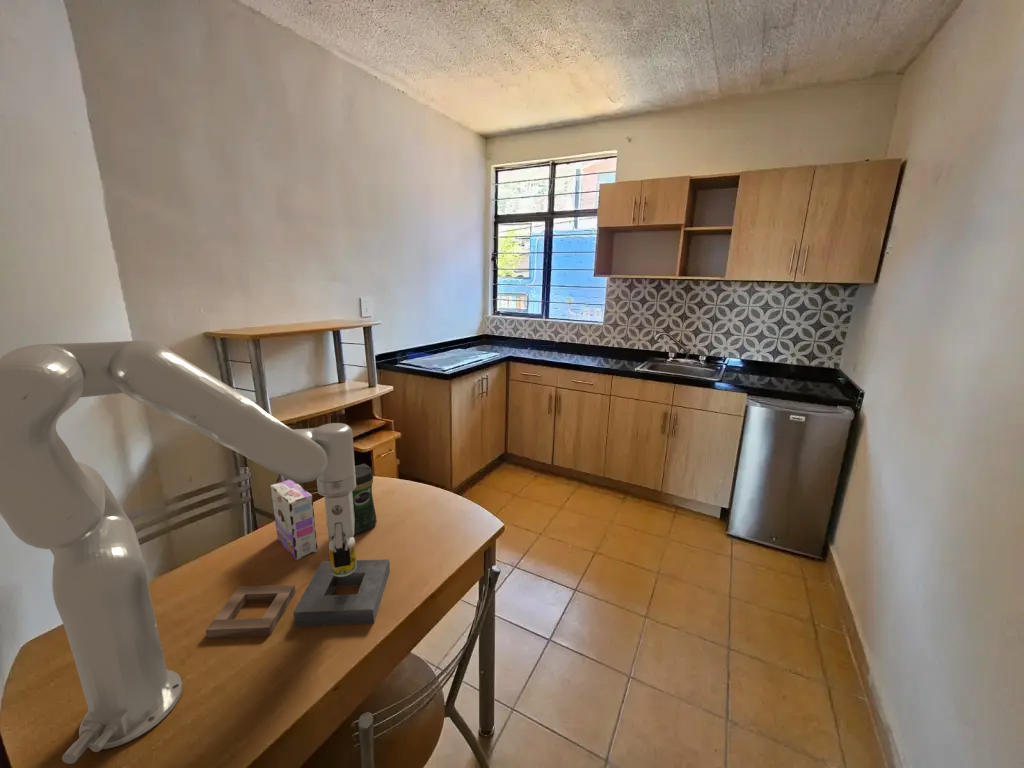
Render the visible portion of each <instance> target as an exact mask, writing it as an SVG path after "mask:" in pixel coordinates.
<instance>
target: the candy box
mask: <svg viewBox="0 0 1024 768" xmlns="http://www.w3.org/2000/svg"><path fill="white" fill-rule="evenodd" d="M270 493H271V494H270V495H271V501H272V502H271V503H272V509H273V515H274V516H273V517H274V523H275V529H276V537H277V540H278V542H280V544H281V545H282V546H283V547H284V549H286V551H287V552H288V553H289V554H290V555H291V557H293V559H294V560H295V561H298V560H300V559H302V558H305V557H307V556H310V555H312V554H314V553H317V552H318V551H319V550H318V541H317V540H318V539H317V532H316V521H315V519H316V518H315V509H314V501H313V500H314V498H313V495H312V493H310V492H308V491H307V490H306V488H305V489H304V487H302V486H301V485H300V484H299V483H298V482H294V481H292V480H289V479H287V480H284V481H281V482H277V483H274V484H271V485H270Z"/></svg>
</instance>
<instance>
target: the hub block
mask: <svg viewBox="0 0 1024 768" xmlns="http://www.w3.org/2000/svg"><path fill="white" fill-rule="evenodd" d="M356 560H357V559H356ZM390 566H391V565H390V559H389V558H388V559H361V560H357V567H356V569H355V571H354V572H353V573H351V574H350V575H347V576H344V577H337V576H334V575H333V574H332V572H331V563H330V560H329V561H328V560H324V561H321V562H320V564H319V566H318V568H316V571H315V573H314V575H313V576H312V578H311V580H310V581H309V584H308V585H307V587H306V589H305V590H304V593H303V595H302V596H301V597H300V600H299V601H298V603H297V605H296V606H295V609H294V610H293V613H292V614H293V619H294V620H293V622H294V627H296V628H297V627H317V626H318V627H319V626H321V627H322V626H344V625H345V626H346V625H362V624H363V625H365V624H367V625H369V624H375V622H376V618H377V616H378V612H379V609H380V605H381V603H382V599H383V596H384V593H385V590H386V589H385V588H386V586H387V582H388V579H389V575H390V572H391V570H390ZM349 586H350V587H353V586H354V587H355V586H359V588H358V592H357V594H355V593H354V594H334V595H333V593H334V591H335V589H336V587H349ZM383 592H384V593H383Z"/></svg>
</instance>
